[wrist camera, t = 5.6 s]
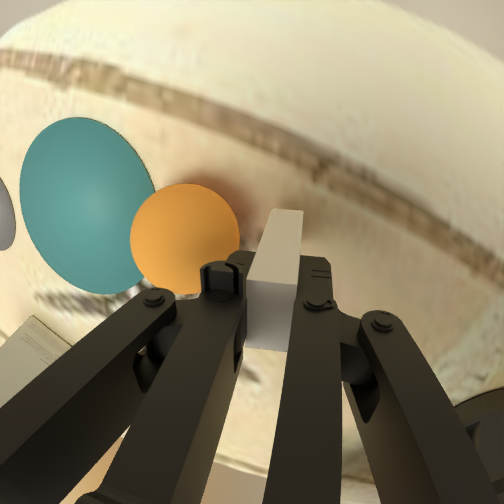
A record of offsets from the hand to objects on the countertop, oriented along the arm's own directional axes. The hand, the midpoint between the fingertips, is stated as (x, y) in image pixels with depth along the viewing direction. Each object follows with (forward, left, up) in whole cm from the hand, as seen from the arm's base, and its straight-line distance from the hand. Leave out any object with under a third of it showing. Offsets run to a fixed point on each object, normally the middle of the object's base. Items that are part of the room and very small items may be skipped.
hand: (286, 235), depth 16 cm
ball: (+5, 0, +1) cm, 5 cm away
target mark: (+14, 0, -2) cm, 14 cm away
